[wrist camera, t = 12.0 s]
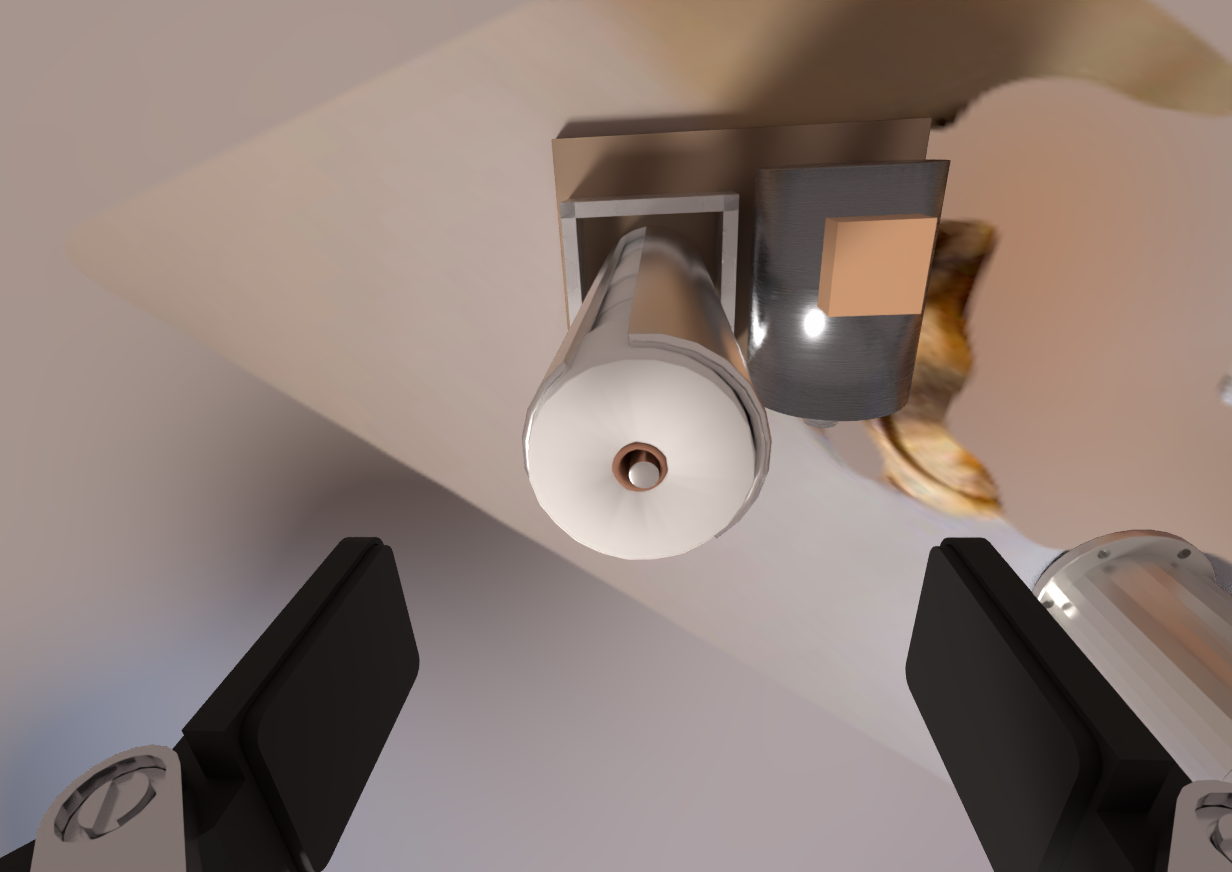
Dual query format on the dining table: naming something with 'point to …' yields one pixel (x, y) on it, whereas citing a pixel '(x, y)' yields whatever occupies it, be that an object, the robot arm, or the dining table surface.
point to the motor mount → (779, 245)
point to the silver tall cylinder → (648, 409)
